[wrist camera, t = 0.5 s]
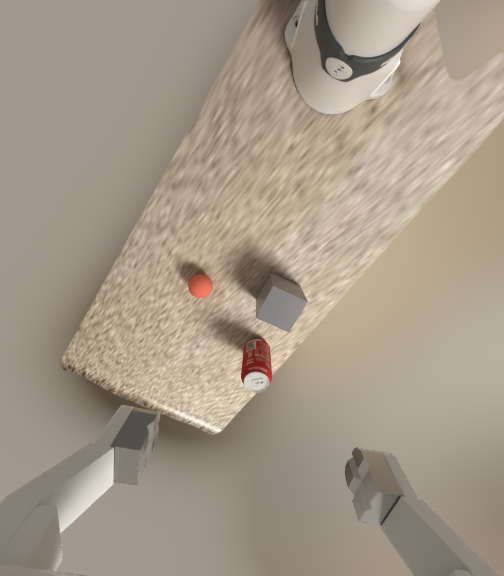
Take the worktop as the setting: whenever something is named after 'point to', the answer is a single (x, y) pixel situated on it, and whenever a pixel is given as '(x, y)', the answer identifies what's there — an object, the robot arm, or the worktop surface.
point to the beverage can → (256, 365)
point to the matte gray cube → (280, 302)
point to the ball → (200, 286)
